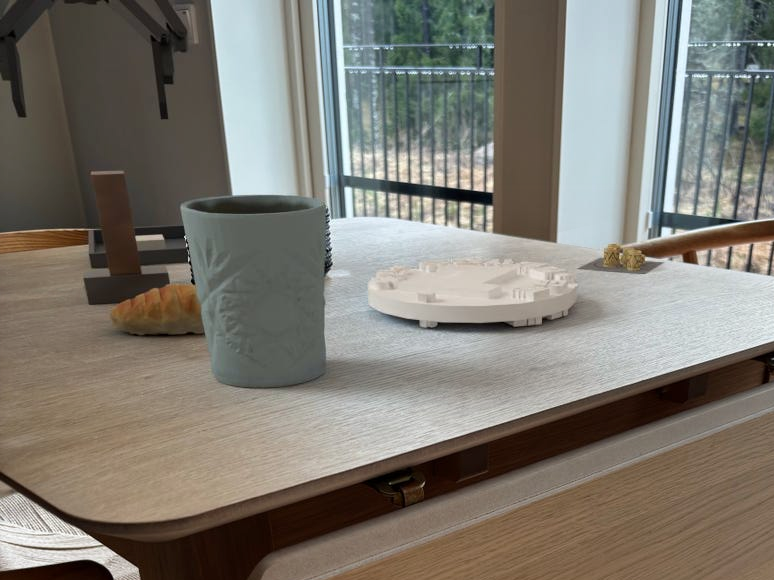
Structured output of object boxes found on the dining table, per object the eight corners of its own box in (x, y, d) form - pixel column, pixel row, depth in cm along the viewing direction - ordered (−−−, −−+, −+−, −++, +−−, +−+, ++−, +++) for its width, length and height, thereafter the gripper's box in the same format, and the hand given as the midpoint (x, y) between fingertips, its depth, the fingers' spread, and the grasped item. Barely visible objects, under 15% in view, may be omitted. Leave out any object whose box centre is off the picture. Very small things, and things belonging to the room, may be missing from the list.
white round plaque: (326, 308, 94) (323, 276, 93) (471, 279, 106) (471, 251, 105) (472, 344, 82) (472, 307, 80) (617, 307, 94) (619, 275, 92)
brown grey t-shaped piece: (88, 304, 96) (62, 176, 90) (88, 296, 100) (63, 172, 94) (172, 298, 99) (152, 172, 93) (169, 291, 102) (150, 169, 96)
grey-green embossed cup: (252, 350, 81) (233, 191, 74) (362, 362, 77) (351, 196, 71) (177, 383, 72) (148, 208, 66) (296, 397, 69) (277, 214, 63)
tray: (92, 248, 125) (88, 229, 124) (197, 242, 129) (195, 224, 128) (92, 275, 109) (88, 253, 108) (213, 267, 113) (210, 246, 112)
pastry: (114, 341, 83) (105, 294, 82) (113, 325, 89) (104, 281, 87) (225, 332, 86) (219, 287, 84) (218, 316, 92) (212, 274, 90)
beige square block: (130, 249, 120) (128, 236, 119) (164, 247, 121) (162, 234, 120) (131, 254, 116) (129, 241, 116) (166, 252, 118) (164, 239, 117)
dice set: (637, 271, 110) (639, 252, 109) (595, 267, 112) (595, 249, 111) (651, 263, 114) (652, 246, 113) (609, 260, 116) (610, 243, 115)
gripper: (-79, -132, 92) (-55, 83, 91) (194, -112, 98) (220, 88, 97) (-56, -68, 99) (-34, 131, 98) (197, -54, 106) (221, 133, 104)
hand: (92, 110), depth 98 cm, fingers open, 13 cm apart
